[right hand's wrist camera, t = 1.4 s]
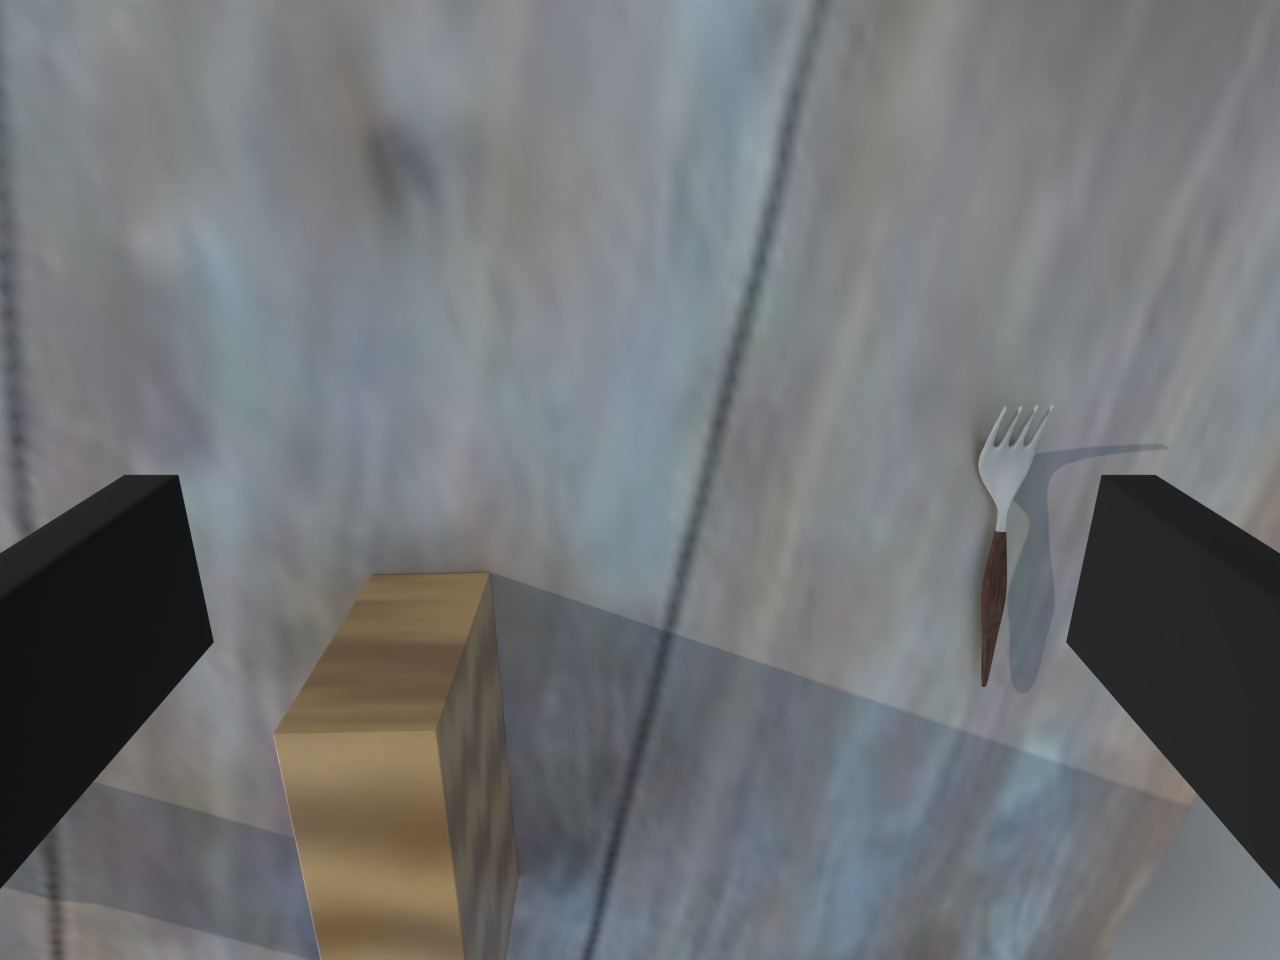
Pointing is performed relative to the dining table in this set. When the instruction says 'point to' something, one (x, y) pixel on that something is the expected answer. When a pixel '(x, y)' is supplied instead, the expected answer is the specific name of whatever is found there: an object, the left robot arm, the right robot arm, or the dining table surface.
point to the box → (405, 777)
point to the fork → (1002, 519)
